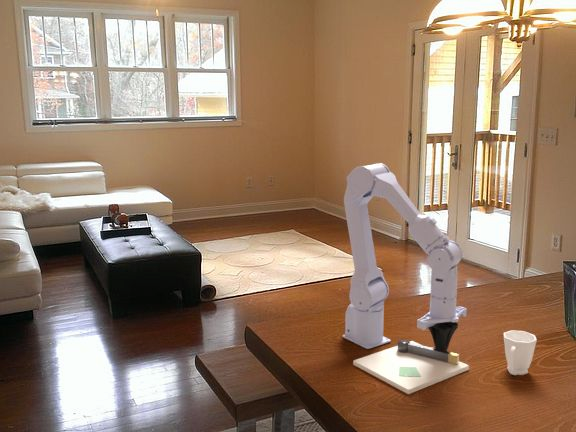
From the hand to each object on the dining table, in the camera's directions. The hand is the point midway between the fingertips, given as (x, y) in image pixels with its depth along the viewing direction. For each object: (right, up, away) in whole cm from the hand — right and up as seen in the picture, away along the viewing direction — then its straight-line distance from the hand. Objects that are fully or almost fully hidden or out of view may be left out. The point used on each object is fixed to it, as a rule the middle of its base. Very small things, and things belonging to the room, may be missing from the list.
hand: (441, 351), depth 133 cm
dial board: (-8, -3, -3) cm, 9 cm away
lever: (-3, -1, 0) cm, 3 cm away
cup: (+15, -3, -6) cm, 16 cm away
